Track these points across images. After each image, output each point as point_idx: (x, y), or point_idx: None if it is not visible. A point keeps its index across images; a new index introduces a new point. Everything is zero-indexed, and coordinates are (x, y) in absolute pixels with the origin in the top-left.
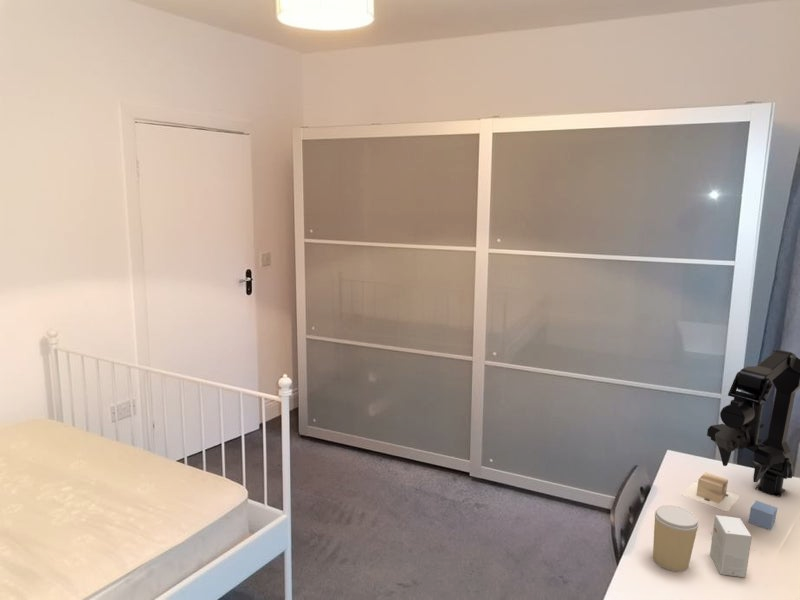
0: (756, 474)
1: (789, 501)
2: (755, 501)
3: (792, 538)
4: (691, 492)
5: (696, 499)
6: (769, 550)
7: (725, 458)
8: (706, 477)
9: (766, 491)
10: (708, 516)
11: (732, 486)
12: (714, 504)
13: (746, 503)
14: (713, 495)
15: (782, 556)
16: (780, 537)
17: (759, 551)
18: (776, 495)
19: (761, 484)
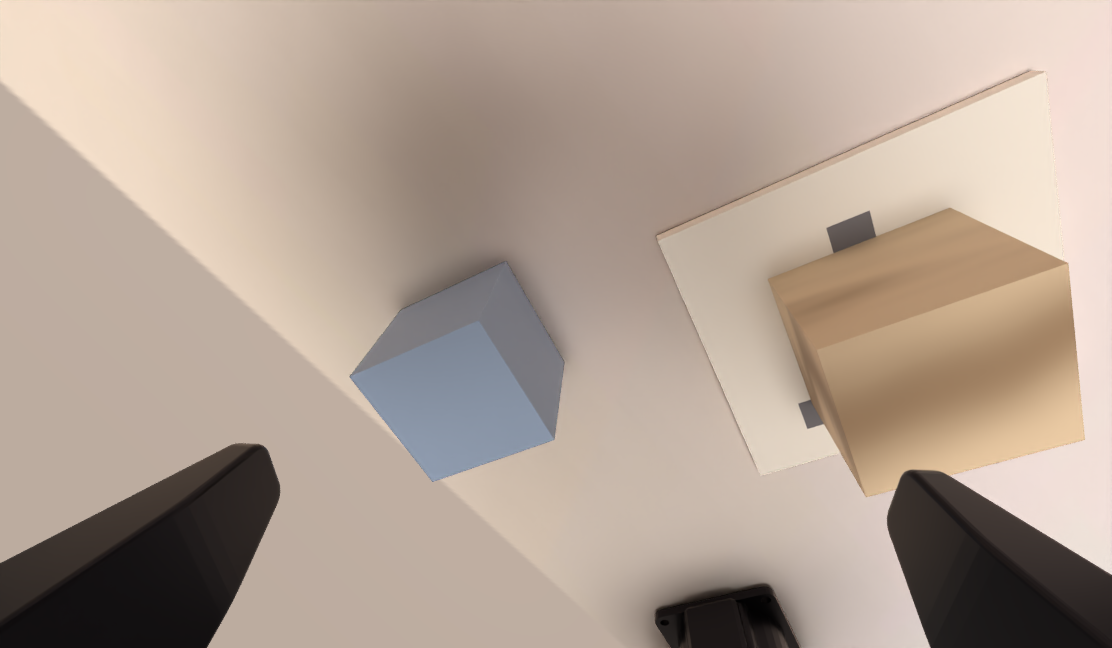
0: (3, 567)
1: (619, 624)
2: (542, 423)
3: (327, 372)
4: (1004, 204)
5: (907, 149)
6: (208, 121)
7: (1022, 638)
8: (1021, 365)
9: (712, 611)
10: (687, 47)
11: (868, 530)
12: (774, 233)
13: (695, 449)
14: (833, 280)
15: (144, 147)
16: (342, 321)
17: (194, 31)
18: (672, 620)
19: (761, 639)
